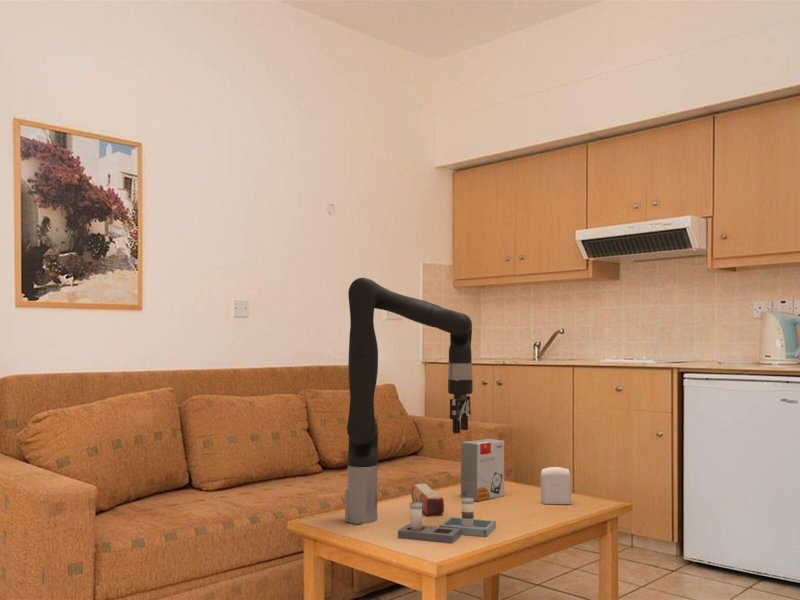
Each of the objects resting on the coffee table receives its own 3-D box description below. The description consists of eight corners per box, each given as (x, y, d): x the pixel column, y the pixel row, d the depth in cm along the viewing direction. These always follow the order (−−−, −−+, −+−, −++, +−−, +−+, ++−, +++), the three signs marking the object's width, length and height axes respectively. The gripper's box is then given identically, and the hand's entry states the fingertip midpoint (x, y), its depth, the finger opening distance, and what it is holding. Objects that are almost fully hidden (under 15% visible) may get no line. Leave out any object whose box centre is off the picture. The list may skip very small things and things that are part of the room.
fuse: (408, 536, 209) (407, 504, 210) (412, 533, 213) (412, 501, 213) (420, 537, 208) (419, 505, 209) (424, 534, 211) (424, 502, 212)
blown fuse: (460, 530, 215) (459, 499, 216) (463, 527, 219) (463, 496, 219) (472, 531, 214) (471, 500, 215) (475, 528, 217) (475, 497, 218)
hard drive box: (476, 502, 256) (475, 444, 257) (460, 498, 261) (459, 442, 263) (505, 495, 266) (504, 440, 267) (488, 492, 272) (488, 438, 273)
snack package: (445, 516, 236) (445, 495, 237) (425, 517, 235) (425, 495, 236) (429, 502, 257) (429, 482, 258) (410, 503, 256) (410, 483, 256)
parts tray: (438, 534, 214) (438, 525, 214) (450, 525, 224) (450, 517, 224) (486, 538, 209) (486, 529, 209) (495, 529, 219) (495, 520, 219)
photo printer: (541, 504, 252) (540, 467, 253) (540, 502, 256) (539, 465, 257) (572, 505, 251) (571, 468, 252) (570, 502, 255) (570, 466, 256)
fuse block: (397, 539, 208) (397, 530, 208) (407, 532, 216) (407, 524, 216) (452, 545, 202) (452, 535, 202) (460, 537, 210) (460, 528, 210)
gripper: (455, 376, 235) (455, 428, 234) (441, 379, 221) (441, 433, 221) (478, 377, 232) (478, 429, 231) (465, 379, 219) (466, 434, 218)
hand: (460, 431), depth 226 cm, fingers open, 8 cm apart
